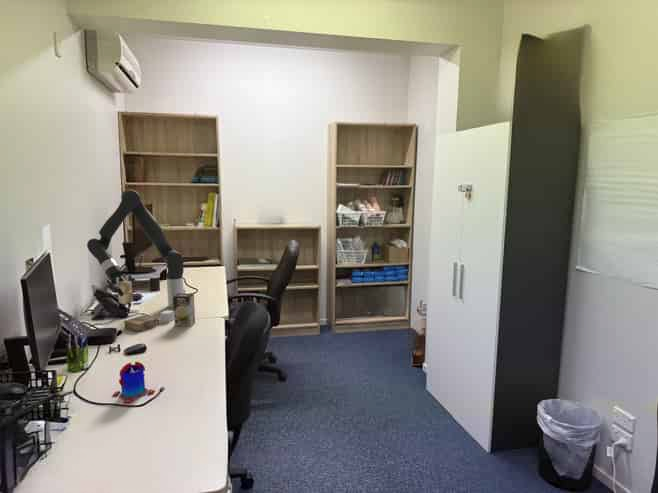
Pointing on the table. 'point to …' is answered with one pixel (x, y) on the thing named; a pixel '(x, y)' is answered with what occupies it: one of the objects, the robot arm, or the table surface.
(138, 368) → the fantasy tower
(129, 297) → the oak block
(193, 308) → the coffee box
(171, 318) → the grey block
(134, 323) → the walnut block
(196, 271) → the table surface
